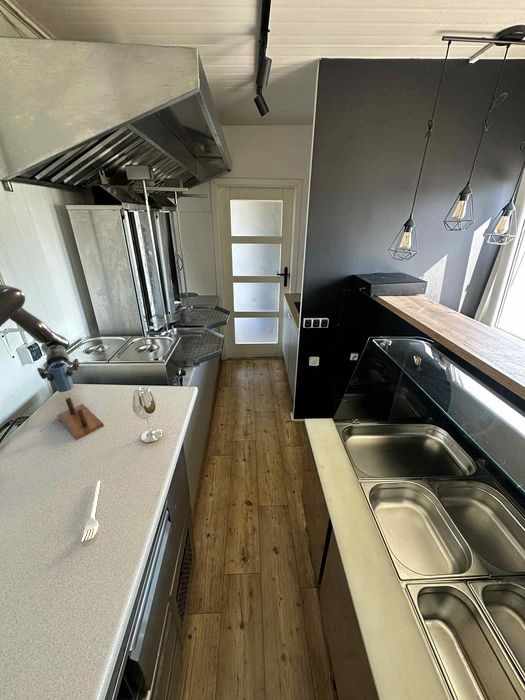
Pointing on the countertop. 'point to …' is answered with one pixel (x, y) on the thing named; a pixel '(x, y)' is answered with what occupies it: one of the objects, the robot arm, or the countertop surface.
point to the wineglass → (145, 412)
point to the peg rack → (79, 420)
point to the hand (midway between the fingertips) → (60, 376)
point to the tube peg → (61, 377)
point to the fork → (92, 518)
